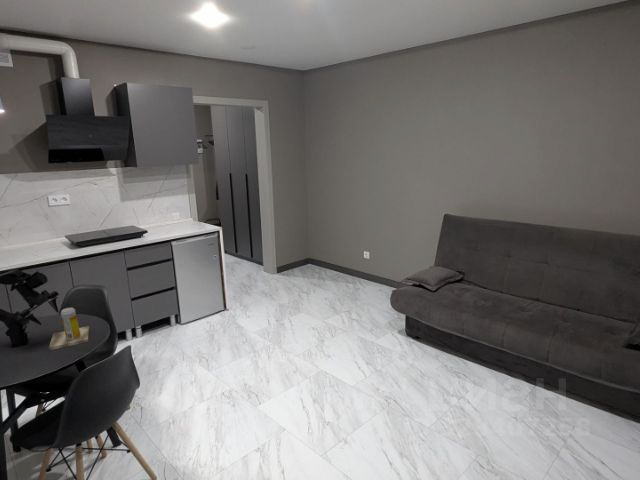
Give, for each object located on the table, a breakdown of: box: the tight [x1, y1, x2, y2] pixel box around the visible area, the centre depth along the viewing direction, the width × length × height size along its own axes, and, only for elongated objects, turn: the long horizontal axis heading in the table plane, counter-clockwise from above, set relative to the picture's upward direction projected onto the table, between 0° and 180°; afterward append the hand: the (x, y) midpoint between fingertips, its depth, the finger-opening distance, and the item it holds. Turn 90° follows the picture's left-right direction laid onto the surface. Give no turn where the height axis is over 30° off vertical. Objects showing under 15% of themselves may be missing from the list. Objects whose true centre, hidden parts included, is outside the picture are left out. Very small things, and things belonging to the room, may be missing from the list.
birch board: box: [48, 325, 90, 351], centre depth 201 cm, size 16×16×2 cm
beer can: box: [60, 307, 80, 340], centre depth 198 cm, size 6×6×15 cm
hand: (49, 318), depth 198 cm, fingers open, 9 cm apart
